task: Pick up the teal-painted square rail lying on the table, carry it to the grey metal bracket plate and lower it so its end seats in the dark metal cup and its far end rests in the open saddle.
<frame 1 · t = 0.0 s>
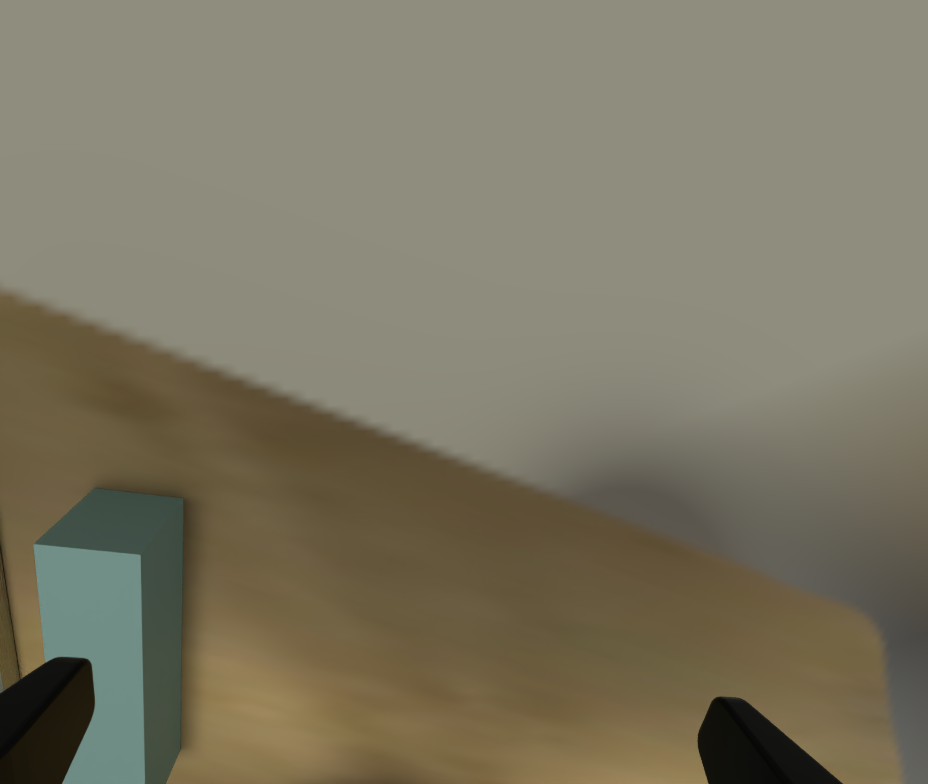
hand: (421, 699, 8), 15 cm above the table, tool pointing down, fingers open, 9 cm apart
rail: (144, 628, 25), on the table
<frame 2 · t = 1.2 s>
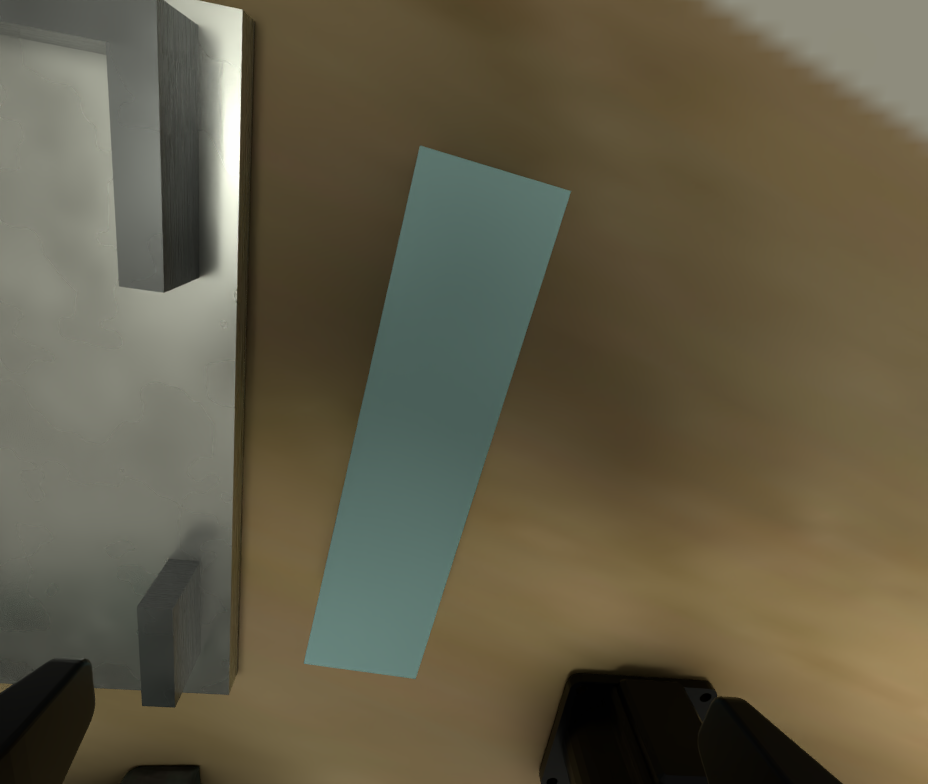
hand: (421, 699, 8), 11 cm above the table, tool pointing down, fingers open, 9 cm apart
rail: (417, 405, 18), on the table
cup bracket: (59, 395, 17), on the table
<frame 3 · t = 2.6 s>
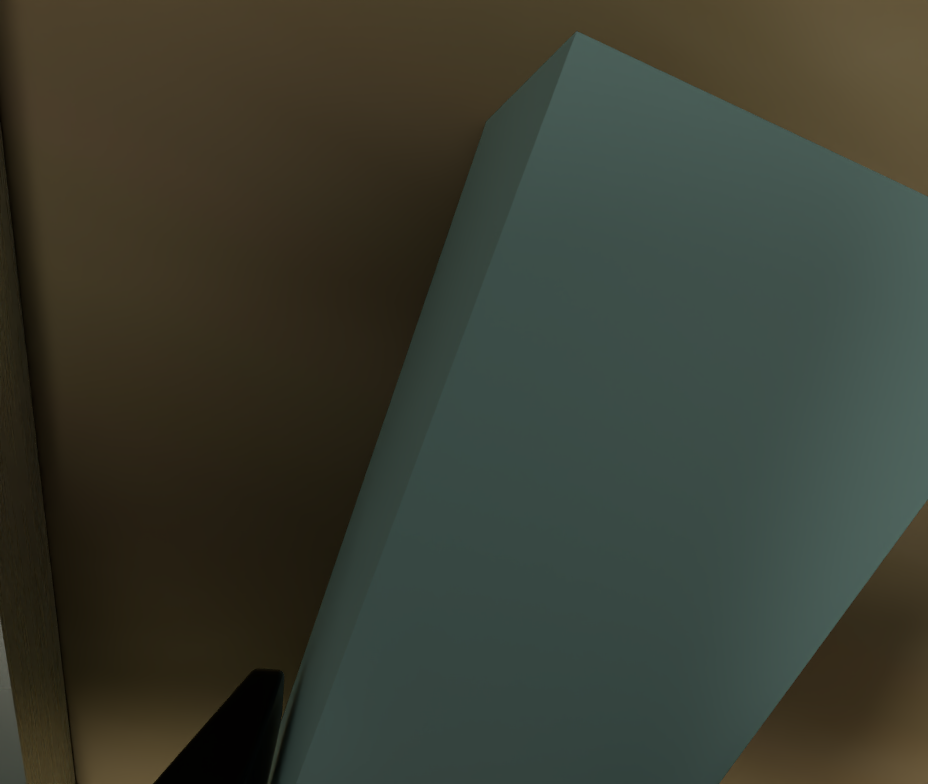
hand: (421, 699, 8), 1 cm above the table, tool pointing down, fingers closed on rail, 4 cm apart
rail: (422, 633, 9), on the table, touching gripper
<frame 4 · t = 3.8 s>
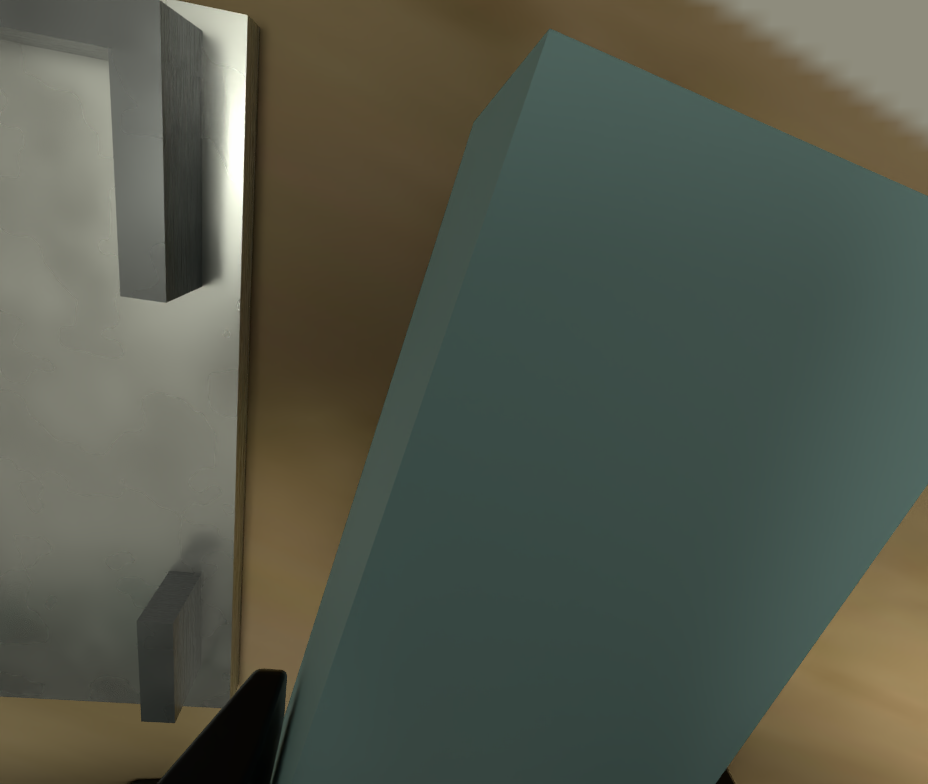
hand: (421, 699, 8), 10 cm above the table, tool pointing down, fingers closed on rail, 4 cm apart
rail: (422, 634, 9), point 9 cm above the table, touching gripper
cup bracket: (59, 405, 16), on the table
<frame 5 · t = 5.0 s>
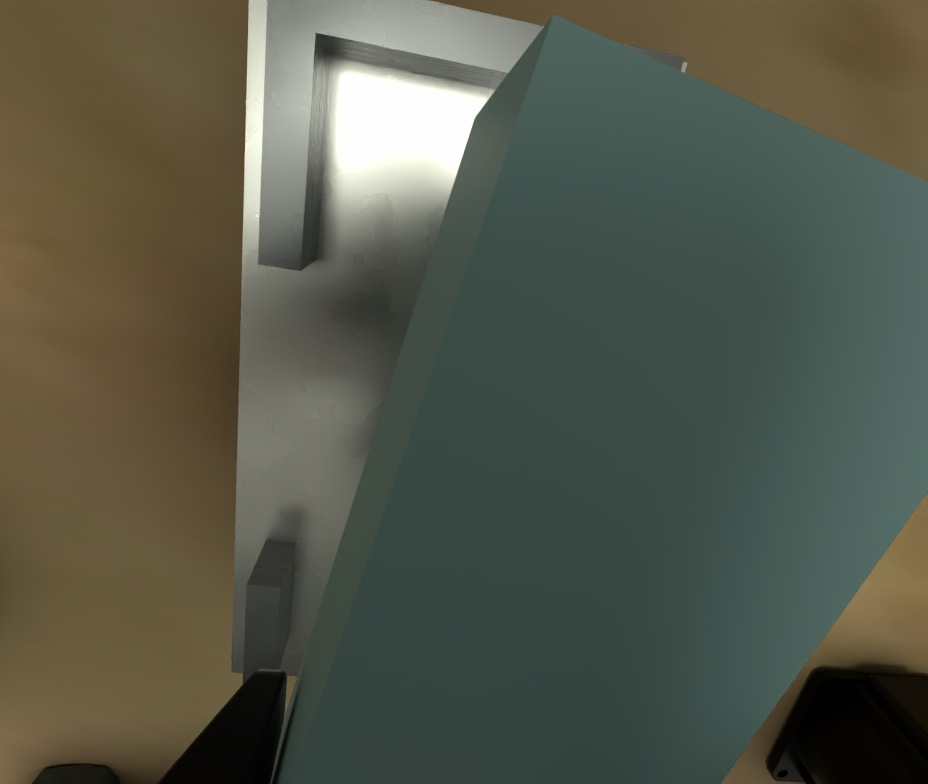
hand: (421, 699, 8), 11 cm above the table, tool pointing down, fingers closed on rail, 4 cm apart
rail: (423, 633, 9), point 10 cm above the table, touching gripper
cup bracket: (419, 409, 18), on the table
when the fingers open (4 cm above the table, at t = 6.9 s): rail drops 2 cm, resting on cup bracket.
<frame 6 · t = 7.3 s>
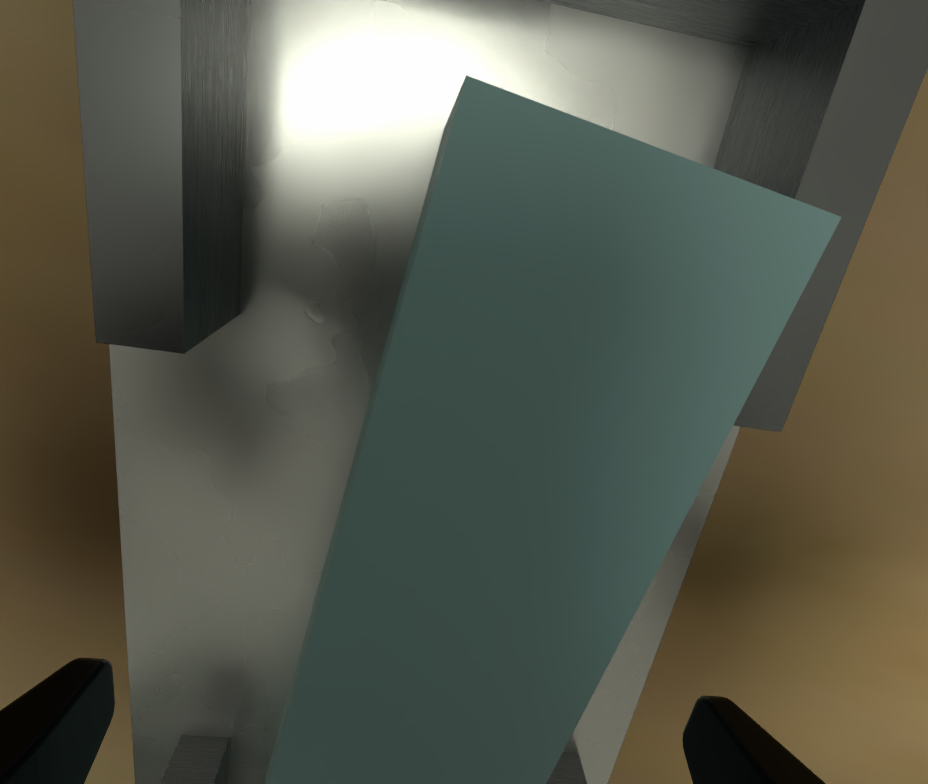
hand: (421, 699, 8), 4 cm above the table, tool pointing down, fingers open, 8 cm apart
rail: (418, 562, 11), point 1 cm above the table, touching cup bracket
cup bracket: (419, 533, 12), on the table
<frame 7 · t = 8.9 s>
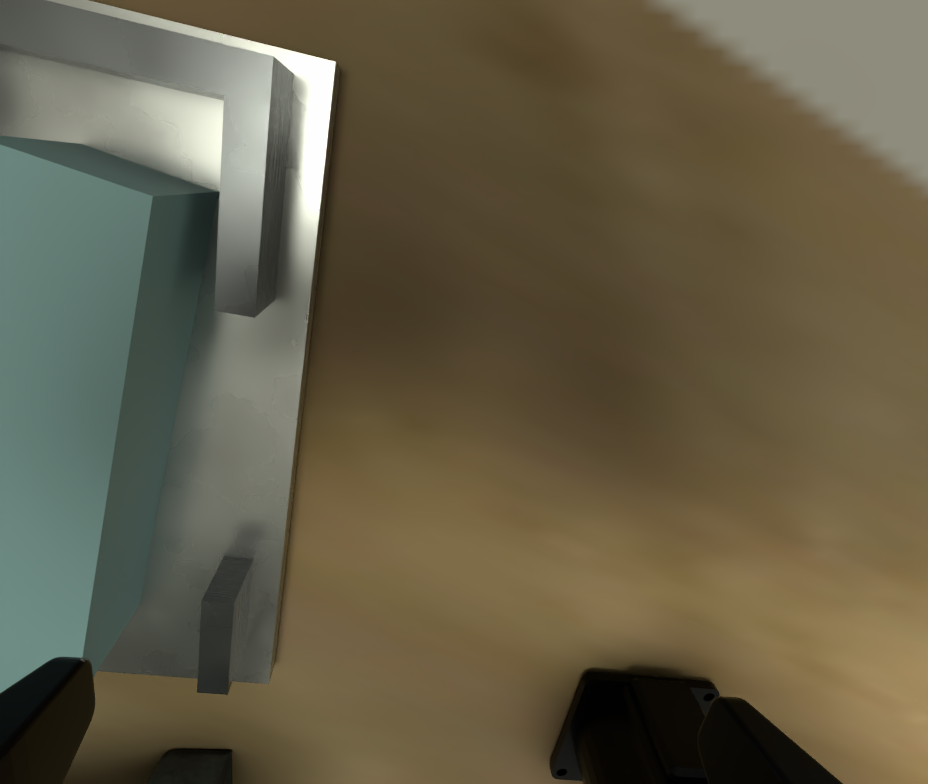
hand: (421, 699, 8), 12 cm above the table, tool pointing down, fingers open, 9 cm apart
ceramic cat: (42, 773, 24), on the table
rail: (114, 412, 17), point 1 cm above the table, touching cup bracket
cup bracket: (131, 401, 18), on the table
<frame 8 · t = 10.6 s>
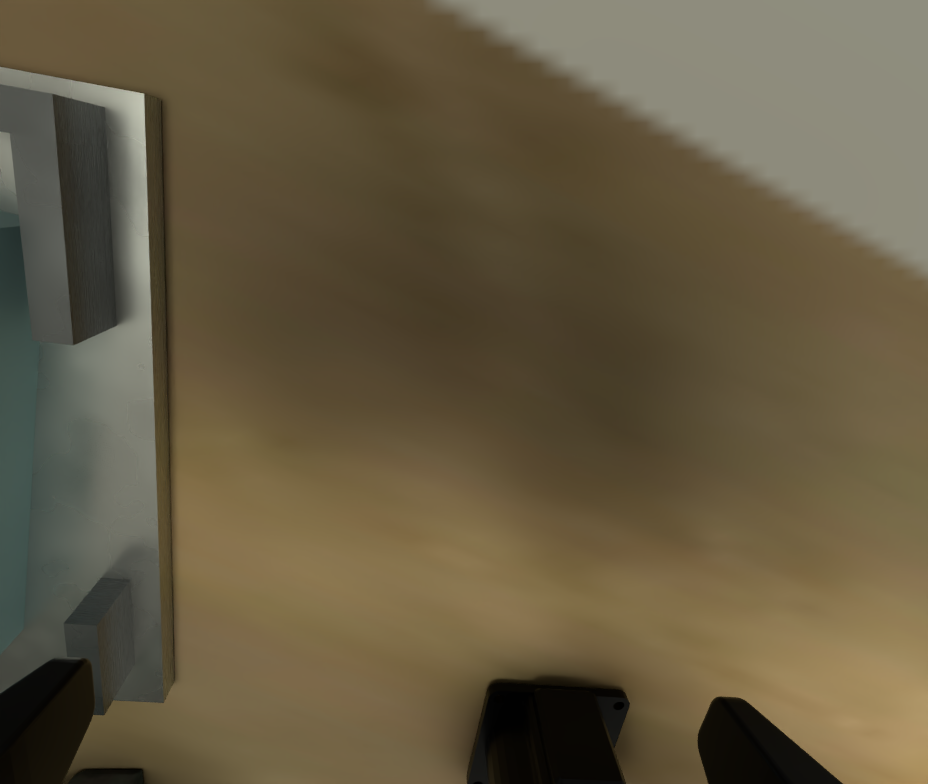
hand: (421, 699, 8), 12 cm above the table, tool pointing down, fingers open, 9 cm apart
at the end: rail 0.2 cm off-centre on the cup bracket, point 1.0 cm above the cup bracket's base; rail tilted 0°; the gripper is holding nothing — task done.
